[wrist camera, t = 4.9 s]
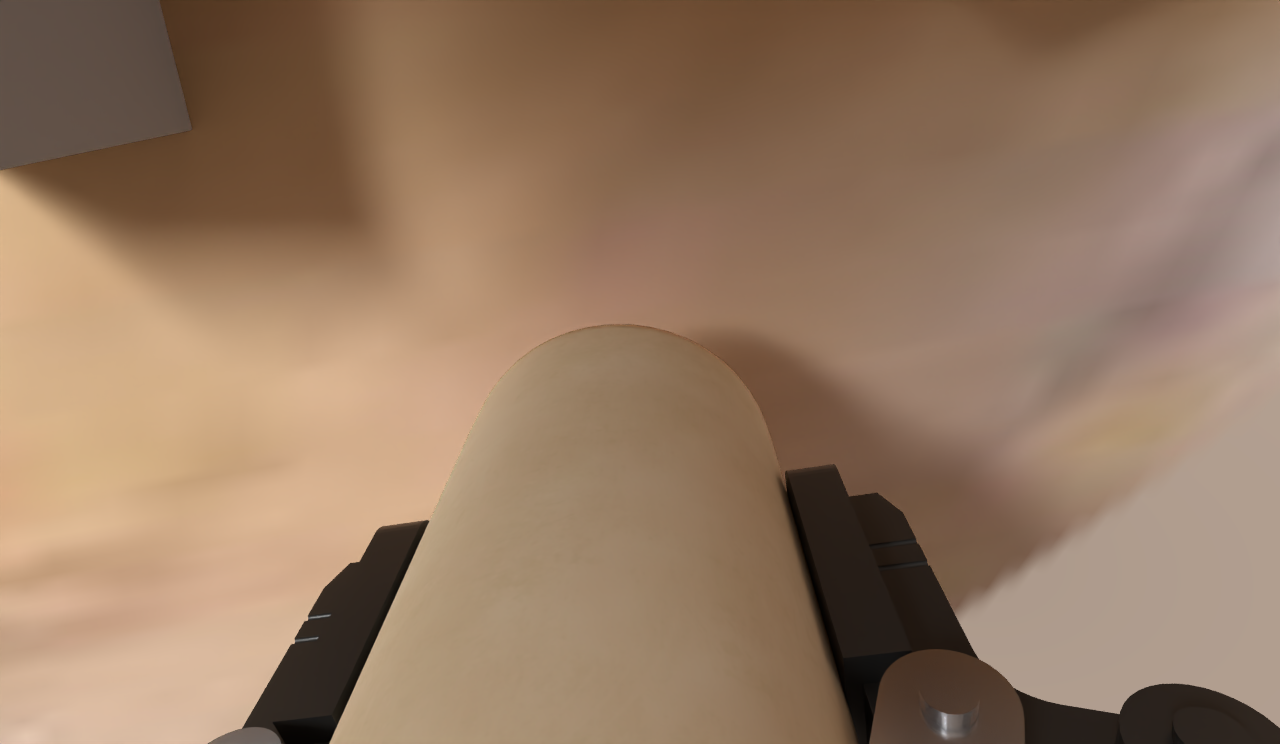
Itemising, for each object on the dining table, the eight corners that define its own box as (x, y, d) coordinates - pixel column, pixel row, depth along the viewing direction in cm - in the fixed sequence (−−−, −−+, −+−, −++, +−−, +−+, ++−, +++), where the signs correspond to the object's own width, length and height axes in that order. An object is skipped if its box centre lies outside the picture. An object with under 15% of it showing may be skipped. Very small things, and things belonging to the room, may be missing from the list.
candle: (516, 277, 12) (102, 1042, 3) (818, 373, 13) (1227, 1233, 4) (448, 528, 14) (98, 1384, 5) (707, 597, 15) (789, 1463, 6)
